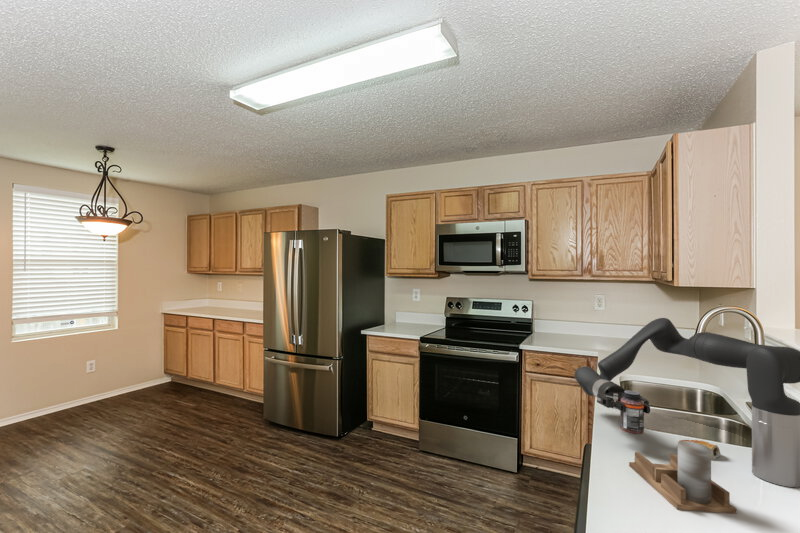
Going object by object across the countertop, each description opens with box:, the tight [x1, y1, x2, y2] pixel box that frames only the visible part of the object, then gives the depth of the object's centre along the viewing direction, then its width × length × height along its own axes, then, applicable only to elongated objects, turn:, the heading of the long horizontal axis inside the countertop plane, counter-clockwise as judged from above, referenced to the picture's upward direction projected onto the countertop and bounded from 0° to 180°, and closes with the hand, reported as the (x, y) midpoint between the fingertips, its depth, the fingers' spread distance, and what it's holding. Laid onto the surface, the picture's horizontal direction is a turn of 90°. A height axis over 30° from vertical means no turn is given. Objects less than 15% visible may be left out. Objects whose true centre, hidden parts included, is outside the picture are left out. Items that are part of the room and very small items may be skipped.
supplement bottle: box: [619, 389, 645, 435], centre depth 115 cm, size 6×6×11 cm
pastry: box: [680, 439, 721, 461], centre depth 114 cm, size 9×7×4 cm
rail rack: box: [628, 440, 737, 514], centre depth 94 cm, size 12×20×12 cm, turn 176°
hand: (636, 409), depth 112 cm, fingers closed on supplement bottle, 6 cm apart
